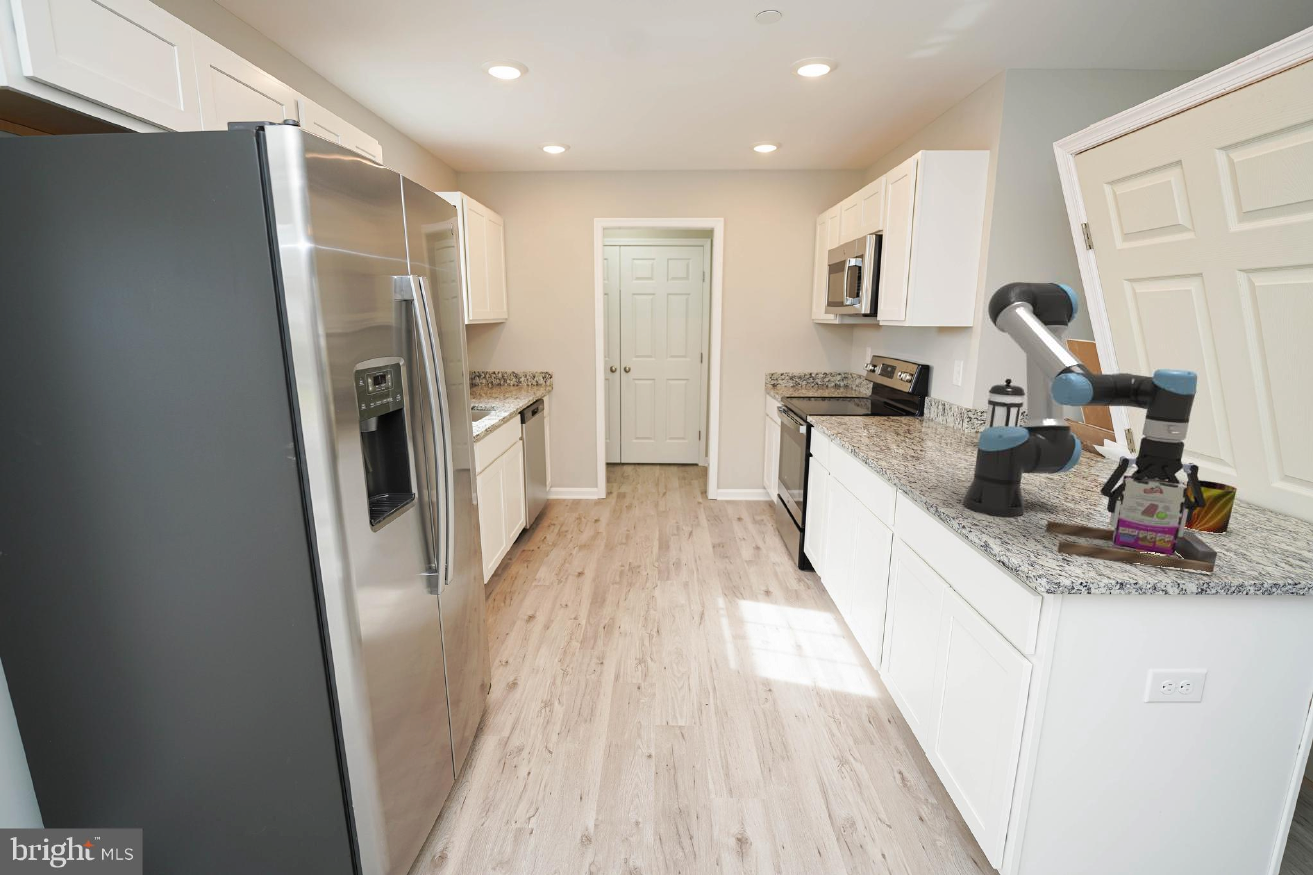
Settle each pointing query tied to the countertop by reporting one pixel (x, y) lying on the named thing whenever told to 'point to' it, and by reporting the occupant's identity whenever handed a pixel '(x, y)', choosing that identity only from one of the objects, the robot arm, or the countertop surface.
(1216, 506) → the mug
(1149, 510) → the candy bar box
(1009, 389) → the coffee press
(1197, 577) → the countertop surface
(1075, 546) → the guide channel
